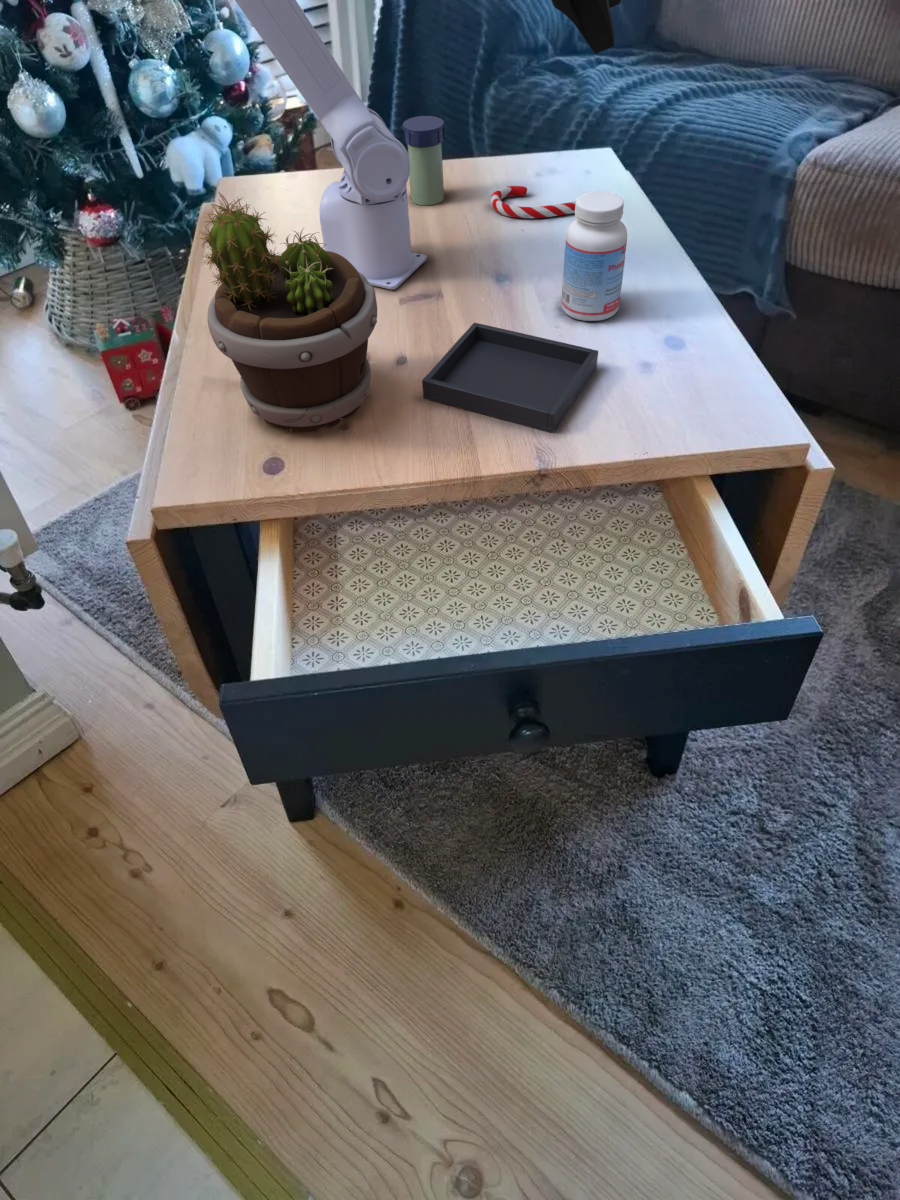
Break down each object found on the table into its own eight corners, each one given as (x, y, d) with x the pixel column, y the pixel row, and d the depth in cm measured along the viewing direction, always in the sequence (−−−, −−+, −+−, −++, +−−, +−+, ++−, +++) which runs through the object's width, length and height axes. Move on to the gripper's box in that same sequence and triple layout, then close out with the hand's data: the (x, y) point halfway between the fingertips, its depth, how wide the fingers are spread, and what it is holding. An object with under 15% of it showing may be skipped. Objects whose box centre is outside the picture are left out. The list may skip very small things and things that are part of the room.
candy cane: (613, 206, 102) (490, 210, 103) (612, 217, 103) (490, 221, 104) (606, 180, 107) (489, 184, 108) (605, 191, 108) (489, 195, 109)
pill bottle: (616, 325, 86) (630, 216, 78) (557, 321, 87) (564, 212, 79) (620, 296, 90) (634, 189, 82) (564, 292, 91) (571, 186, 83)
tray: (423, 398, 79) (421, 380, 78) (474, 339, 86) (474, 322, 84) (553, 433, 75) (554, 414, 73) (596, 368, 81) (598, 350, 80)
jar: (405, 202, 108) (399, 130, 102) (420, 189, 111) (416, 118, 104) (434, 207, 107) (430, 135, 101) (449, 194, 109) (447, 122, 103)
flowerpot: (379, 350, 85) (355, 138, 70) (394, 442, 75) (370, 216, 60) (235, 366, 84) (180, 154, 69) (230, 461, 74) (164, 237, 59)
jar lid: (396, 143, 103) (395, 127, 102) (415, 129, 106) (414, 113, 104) (432, 149, 101) (431, 133, 100) (451, 134, 104) (450, 118, 103)
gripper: (593, -104, 70) (641, 52, 81) (609, -183, 77) (651, -30, 87) (517, -65, 74) (572, 80, 84) (538, -143, 80) (587, 0, 91)
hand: (608, 26), depth 86 cm, fingers open, 7 cm apart
